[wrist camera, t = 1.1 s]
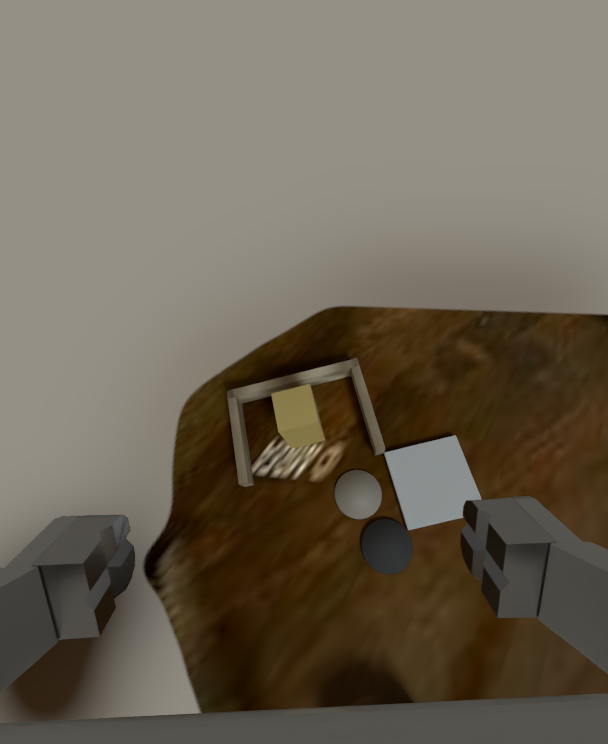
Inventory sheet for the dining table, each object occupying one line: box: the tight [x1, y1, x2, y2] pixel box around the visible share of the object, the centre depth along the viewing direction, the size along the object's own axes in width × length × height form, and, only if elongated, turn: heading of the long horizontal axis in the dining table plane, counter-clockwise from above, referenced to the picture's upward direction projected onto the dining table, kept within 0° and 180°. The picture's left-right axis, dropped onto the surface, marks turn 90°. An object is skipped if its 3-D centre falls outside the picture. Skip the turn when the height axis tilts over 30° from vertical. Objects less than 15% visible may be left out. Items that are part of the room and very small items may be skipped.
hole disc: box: [361, 519, 412, 574], centre depth 36 cm, size 5×5×1 cm
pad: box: [384, 435, 482, 530], centre depth 38 cm, size 8×8×1 cm
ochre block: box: [271, 384, 325, 448], centre depth 39 cm, size 4×4×8 cm
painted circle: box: [335, 470, 382, 519], centre depth 39 cm, size 5×5×1 cm
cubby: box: [227, 358, 385, 487], centre depth 41 cm, size 16×11×2 cm
